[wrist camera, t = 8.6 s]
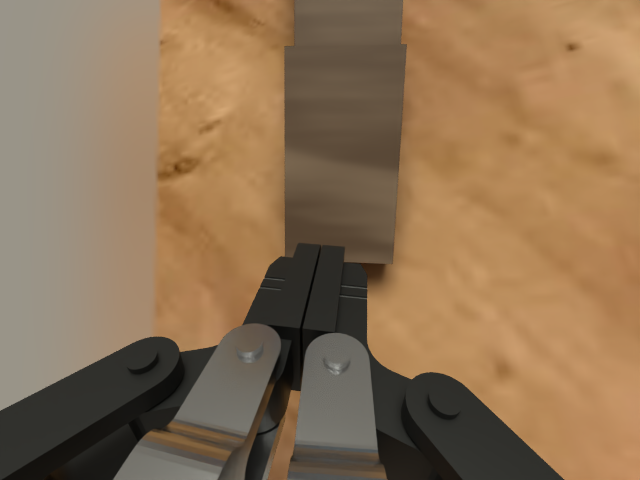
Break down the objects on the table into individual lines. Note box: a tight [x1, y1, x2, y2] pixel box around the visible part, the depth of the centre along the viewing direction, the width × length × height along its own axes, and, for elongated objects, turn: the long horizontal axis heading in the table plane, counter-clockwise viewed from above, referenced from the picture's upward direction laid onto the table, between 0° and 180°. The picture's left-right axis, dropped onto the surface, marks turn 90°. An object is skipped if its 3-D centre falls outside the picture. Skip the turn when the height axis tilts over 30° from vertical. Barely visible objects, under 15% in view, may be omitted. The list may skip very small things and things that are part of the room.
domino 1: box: [295, 0, 403, 46], centre depth 19 cm, size 2×6×11 cm
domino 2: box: [285, 44, 407, 264], centre depth 18 cm, size 2×6×11 cm
